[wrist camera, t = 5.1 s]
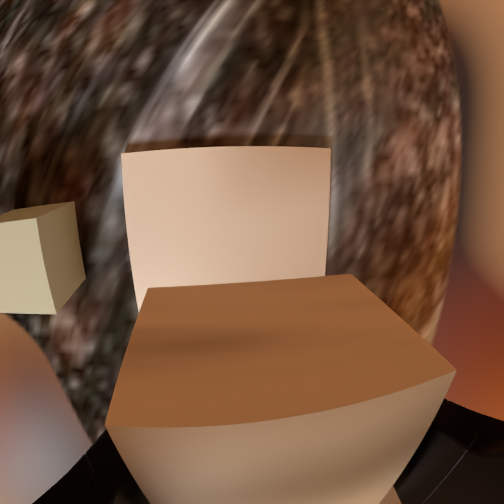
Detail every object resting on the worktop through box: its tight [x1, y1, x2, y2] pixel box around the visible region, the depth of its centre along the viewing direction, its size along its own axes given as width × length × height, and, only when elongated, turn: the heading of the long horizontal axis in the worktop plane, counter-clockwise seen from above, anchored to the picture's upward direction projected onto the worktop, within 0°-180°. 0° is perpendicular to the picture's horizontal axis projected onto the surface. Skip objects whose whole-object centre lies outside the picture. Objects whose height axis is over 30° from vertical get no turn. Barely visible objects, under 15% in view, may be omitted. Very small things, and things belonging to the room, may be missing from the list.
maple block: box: [105, 274, 456, 504], centre depth 7 cm, size 6×6×5 cm
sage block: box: [0, 201, 86, 314], centre depth 14 cm, size 5×5×5 cm
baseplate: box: [121, 146, 331, 311], centre depth 19 cm, size 14×12×1 cm
